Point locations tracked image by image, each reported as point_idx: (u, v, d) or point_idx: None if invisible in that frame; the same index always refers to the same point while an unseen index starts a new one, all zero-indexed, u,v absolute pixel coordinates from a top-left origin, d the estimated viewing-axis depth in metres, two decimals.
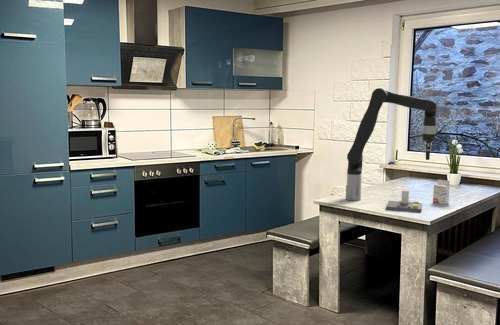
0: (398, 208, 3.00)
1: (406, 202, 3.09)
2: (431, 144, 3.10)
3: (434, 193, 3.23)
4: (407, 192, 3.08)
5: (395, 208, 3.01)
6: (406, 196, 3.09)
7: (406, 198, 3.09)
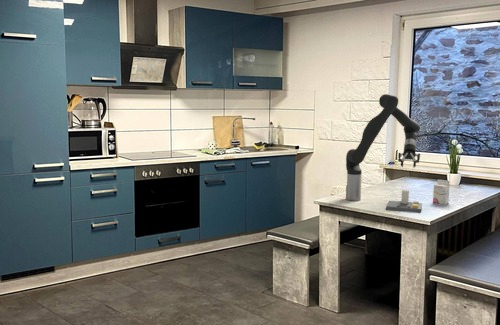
0: (398, 208, 3.00)
1: (406, 202, 3.09)
2: None
3: (434, 193, 3.23)
4: (407, 192, 3.08)
5: (395, 208, 3.01)
6: (406, 196, 3.09)
7: (406, 198, 3.09)
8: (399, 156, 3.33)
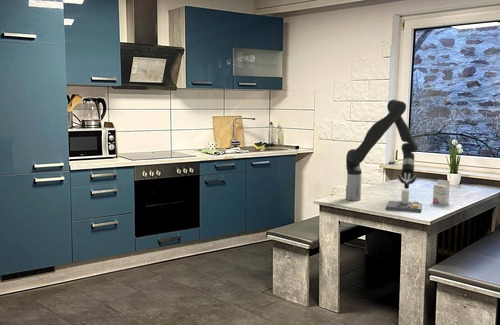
0: (398, 208, 3.00)
1: (406, 202, 3.09)
2: None
3: (434, 193, 3.23)
4: (407, 192, 3.08)
5: (395, 208, 3.01)
6: (406, 196, 3.09)
7: (406, 198, 3.09)
8: (400, 178, 3.26)
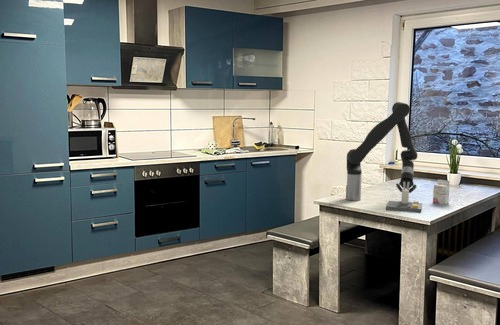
0: (398, 208, 3.00)
1: (406, 202, 3.09)
2: None
3: (434, 193, 3.23)
4: (407, 192, 3.08)
5: (395, 208, 3.01)
6: (406, 196, 3.09)
7: (406, 198, 3.09)
8: (399, 186, 3.18)
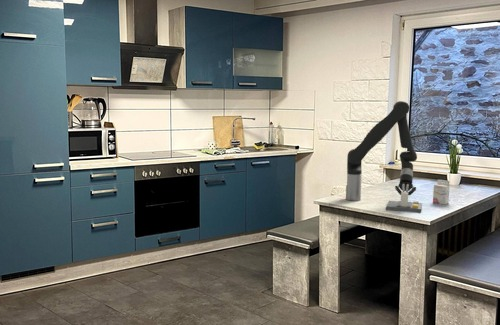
0: (398, 208, 3.00)
1: (405, 205, 3.01)
2: None
3: (434, 193, 3.23)
4: (406, 195, 3.00)
5: (395, 208, 3.01)
6: (405, 199, 3.00)
7: (405, 201, 3.01)
8: (398, 189, 3.09)
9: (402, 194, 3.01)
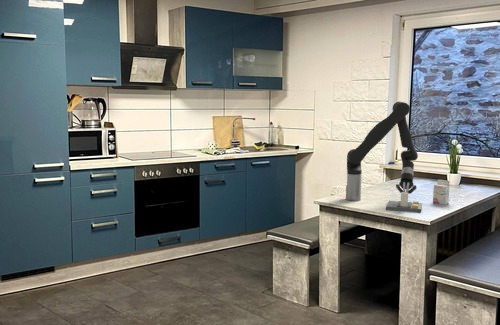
0: (398, 208, 3.00)
1: (405, 205, 3.01)
2: None
3: (434, 193, 3.23)
4: (406, 195, 3.00)
5: (395, 208, 3.01)
6: (405, 199, 3.00)
7: (405, 201, 3.01)
8: (399, 187, 3.14)
9: (402, 194, 3.01)
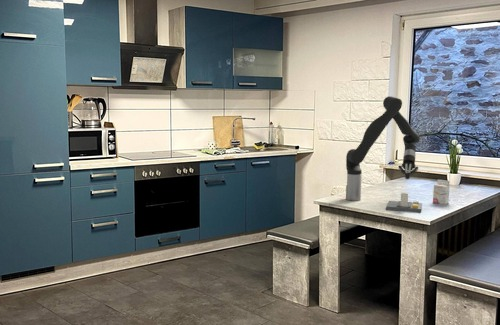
0: (398, 208, 3.00)
1: (405, 205, 3.01)
2: None
3: (434, 193, 3.23)
4: (406, 195, 3.00)
5: (395, 208, 3.01)
6: (405, 199, 3.00)
7: (405, 201, 3.01)
8: (401, 168, 3.28)
9: (402, 194, 3.01)
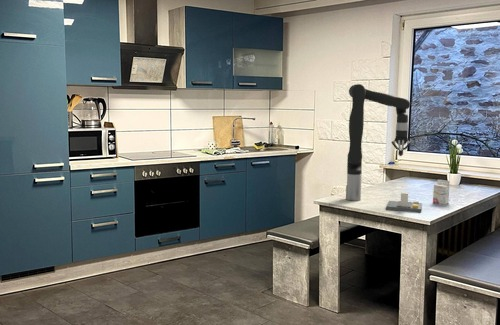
0: (398, 208, 3.00)
1: (405, 205, 3.01)
2: None
3: (434, 193, 3.23)
4: (406, 195, 3.00)
5: (395, 208, 3.01)
6: (405, 199, 3.00)
7: (405, 201, 3.01)
8: (394, 145, 3.29)
9: (402, 194, 3.01)
